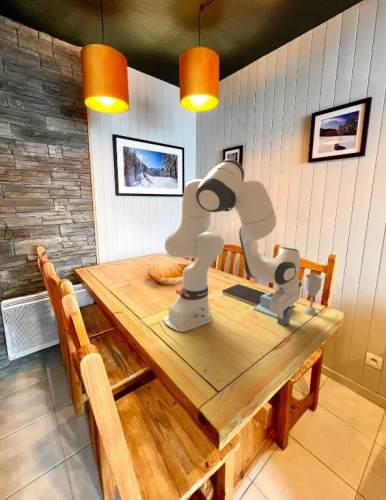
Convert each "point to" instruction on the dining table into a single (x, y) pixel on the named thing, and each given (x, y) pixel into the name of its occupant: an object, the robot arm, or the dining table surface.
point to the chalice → (312, 290)
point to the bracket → (285, 317)
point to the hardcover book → (244, 294)
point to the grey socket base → (266, 305)
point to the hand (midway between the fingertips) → (283, 315)
